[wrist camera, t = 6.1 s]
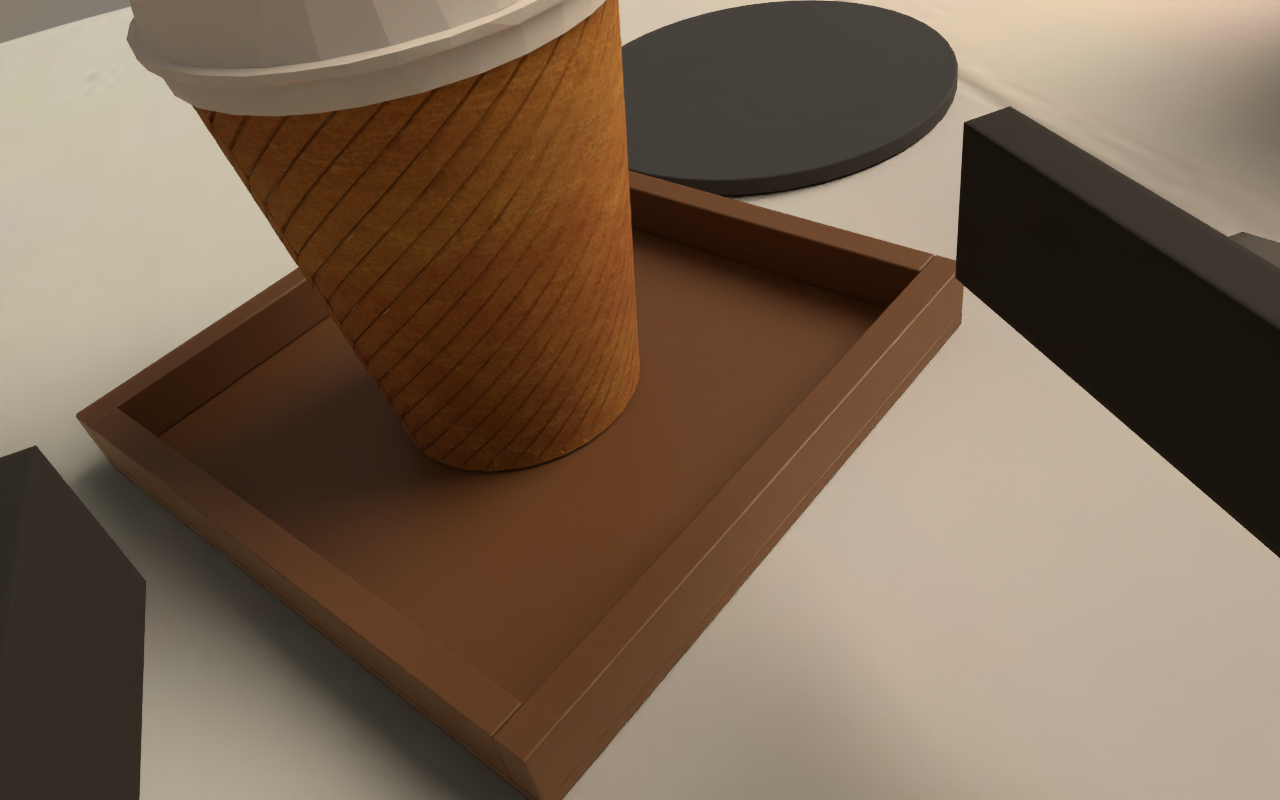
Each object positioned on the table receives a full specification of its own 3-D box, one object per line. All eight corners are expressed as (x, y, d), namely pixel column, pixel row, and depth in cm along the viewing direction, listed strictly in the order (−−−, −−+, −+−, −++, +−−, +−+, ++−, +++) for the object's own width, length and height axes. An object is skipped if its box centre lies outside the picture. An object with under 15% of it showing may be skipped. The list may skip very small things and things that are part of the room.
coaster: (494, 145, 37) (490, 130, 36) (716, -3, 44) (715, -16, 43) (819, 238, 29) (818, 220, 29) (1026, 40, 36) (1027, 24, 36)
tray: (111, 465, 27) (73, 414, 25) (513, 183, 35) (498, 133, 33) (549, 816, 18) (523, 763, 16) (961, 323, 25) (966, 262, 24)
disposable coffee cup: (270, 498, 24) (-32, 8, 16) (440, 268, 31) (284, -165, 23) (638, 554, 21) (488, -21, 13) (742, 283, 27) (684, -212, 19)
